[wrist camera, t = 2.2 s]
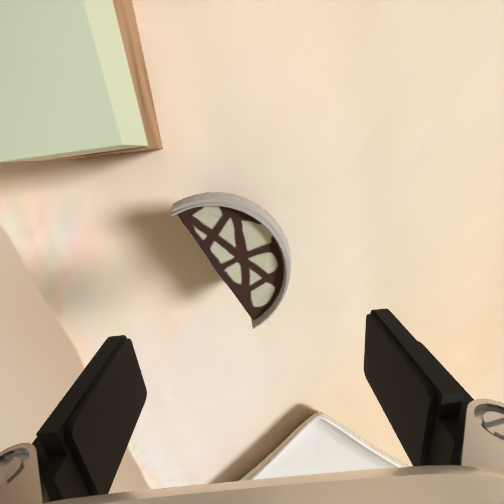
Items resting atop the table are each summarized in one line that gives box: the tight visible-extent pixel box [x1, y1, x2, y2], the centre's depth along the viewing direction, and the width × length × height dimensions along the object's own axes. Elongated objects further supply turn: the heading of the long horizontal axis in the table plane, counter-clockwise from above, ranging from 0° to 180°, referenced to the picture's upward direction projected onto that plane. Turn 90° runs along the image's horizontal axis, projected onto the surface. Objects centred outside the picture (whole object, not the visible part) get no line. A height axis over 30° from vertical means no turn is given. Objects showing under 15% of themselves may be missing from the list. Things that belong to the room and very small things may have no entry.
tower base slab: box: [42, 0, 163, 161], centre depth 23 cm, size 9×15×5 cm, turn 6°
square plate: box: [239, 412, 409, 481], centre depth 44 cm, size 27×27×4 cm
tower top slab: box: [0, 0, 148, 163], centre depth 18 cm, size 9×15×5 cm, turn 7°
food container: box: [171, 193, 291, 329], centre depth 25 cm, size 12×6×10 cm, turn 31°
